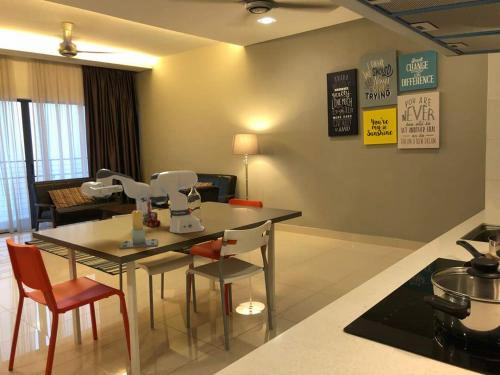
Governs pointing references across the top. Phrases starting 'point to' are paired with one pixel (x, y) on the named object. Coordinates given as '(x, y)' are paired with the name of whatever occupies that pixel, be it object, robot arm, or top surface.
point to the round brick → (137, 220)
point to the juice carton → (144, 207)
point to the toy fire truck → (153, 219)
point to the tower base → (130, 244)
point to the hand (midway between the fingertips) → (114, 190)
